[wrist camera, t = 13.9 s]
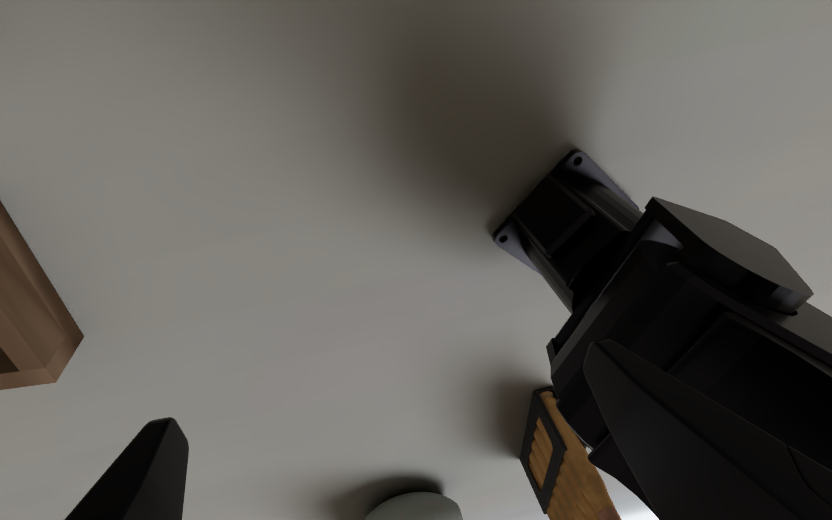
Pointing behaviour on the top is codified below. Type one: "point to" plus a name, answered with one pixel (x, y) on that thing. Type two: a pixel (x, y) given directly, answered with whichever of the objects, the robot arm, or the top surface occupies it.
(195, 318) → the top surface
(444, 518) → the air freshener
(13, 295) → the brown wooden tray
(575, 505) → the ammunition clip
